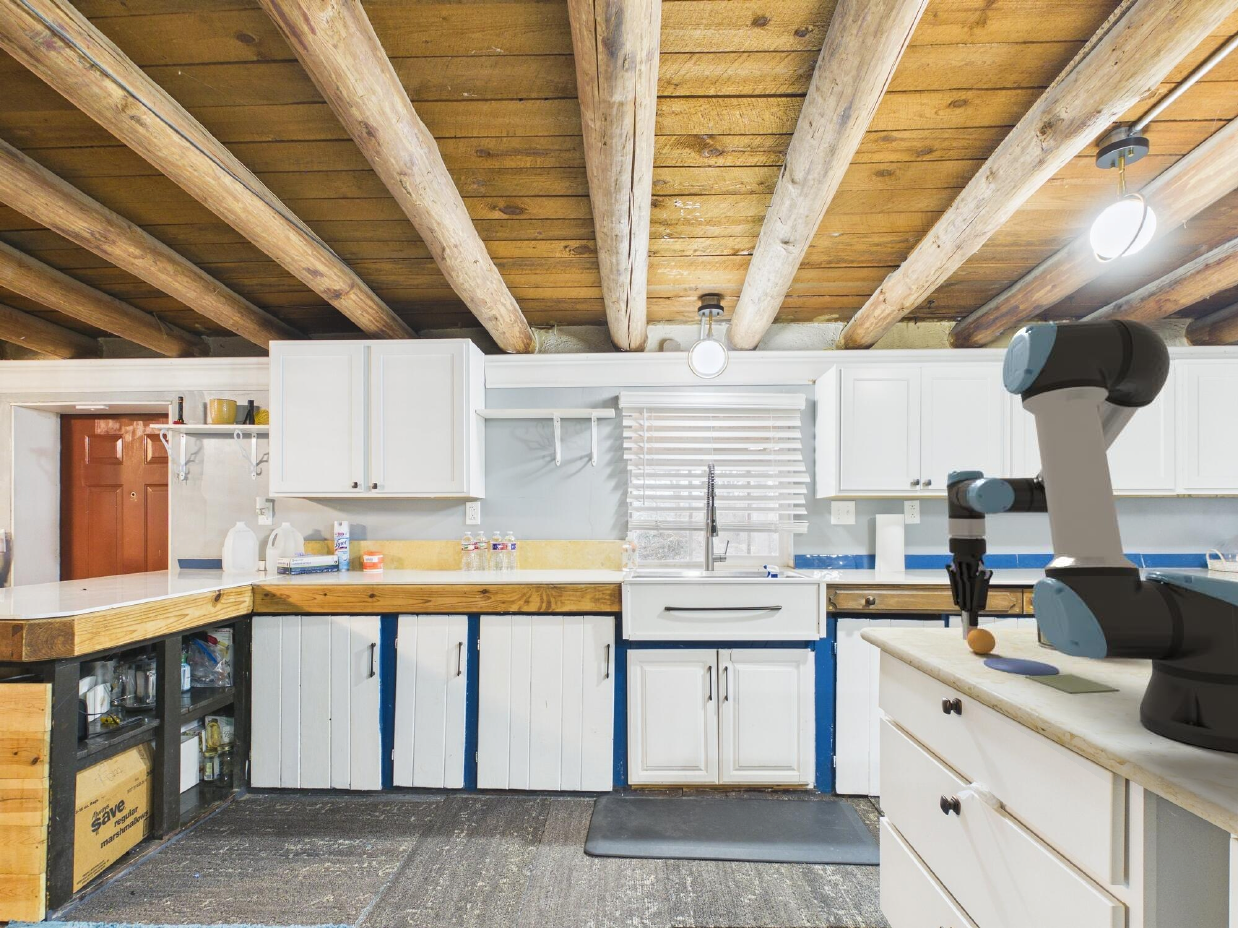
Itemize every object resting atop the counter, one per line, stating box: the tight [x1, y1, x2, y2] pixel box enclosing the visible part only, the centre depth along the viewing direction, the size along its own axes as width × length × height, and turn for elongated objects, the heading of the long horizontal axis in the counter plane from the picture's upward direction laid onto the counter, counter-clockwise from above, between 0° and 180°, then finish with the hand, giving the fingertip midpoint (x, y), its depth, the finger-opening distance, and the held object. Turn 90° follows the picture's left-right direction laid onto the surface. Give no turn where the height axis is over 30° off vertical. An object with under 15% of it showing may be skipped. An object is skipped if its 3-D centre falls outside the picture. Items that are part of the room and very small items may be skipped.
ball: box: [966, 628, 996, 655], centre depth 137 cm, size 6×6×6 cm
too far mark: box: [1024, 673, 1121, 694], centre depth 114 cm, size 10×10×1 cm
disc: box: [983, 657, 1060, 676], centre depth 126 cm, size 13×13×1 cm
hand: (970, 639), depth 140 cm, fingers closed
